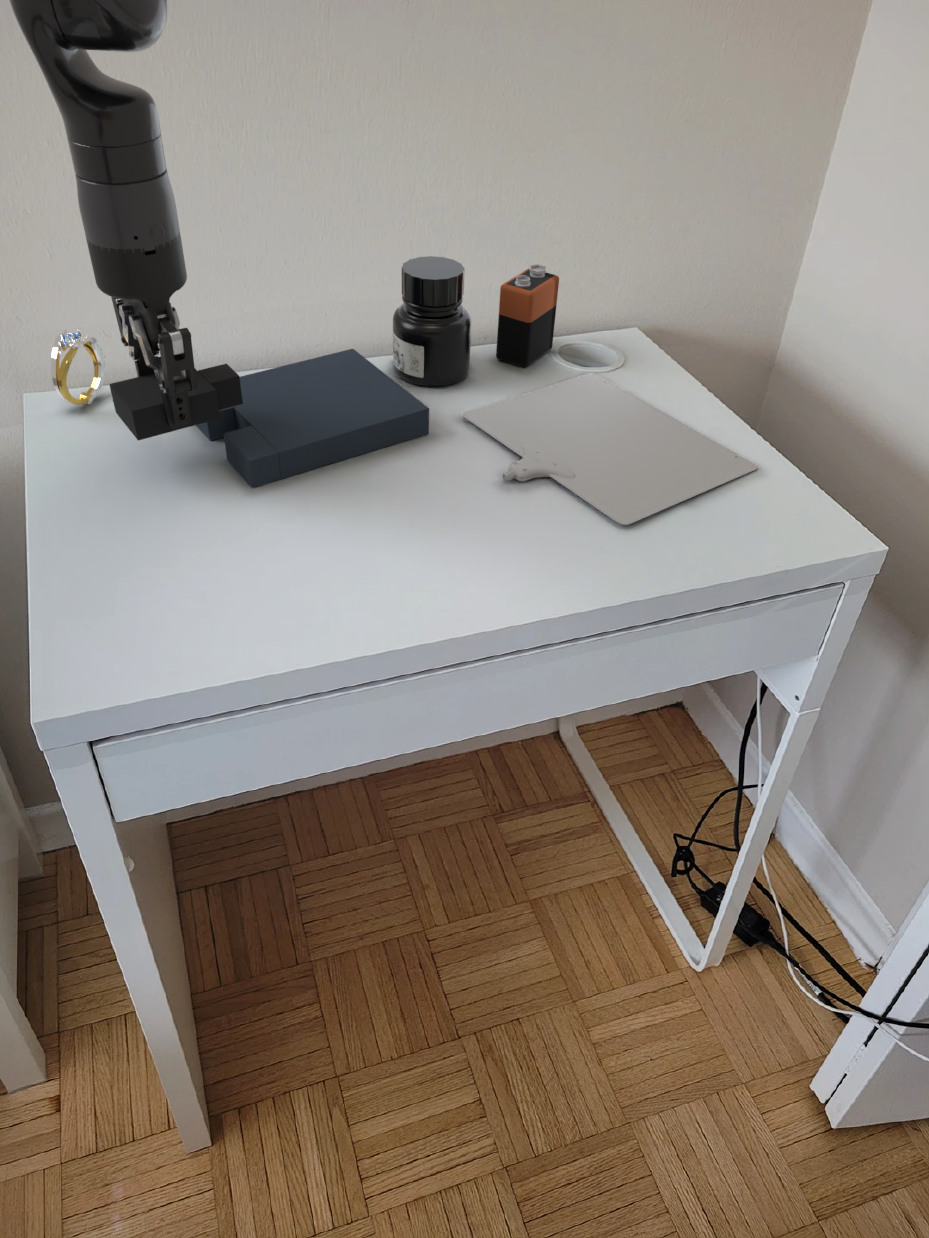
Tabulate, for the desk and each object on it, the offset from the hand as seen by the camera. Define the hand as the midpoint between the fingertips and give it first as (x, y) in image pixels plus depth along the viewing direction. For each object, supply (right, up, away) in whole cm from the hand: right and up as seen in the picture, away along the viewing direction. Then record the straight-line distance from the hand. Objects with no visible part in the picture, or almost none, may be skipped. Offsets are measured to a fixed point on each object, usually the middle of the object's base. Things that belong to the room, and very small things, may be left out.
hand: (166, 409), depth 90 cm
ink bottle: (+24, +9, +21) cm, 33 cm away
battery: (+35, +12, +25) cm, 45 cm away
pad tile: (+1, 0, +1) cm, 2 cm away
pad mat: (+12, +1, +10) cm, 15 cm away
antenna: (+41, -2, +9) cm, 42 cm away
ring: (-12, +3, +12) cm, 17 cm away
